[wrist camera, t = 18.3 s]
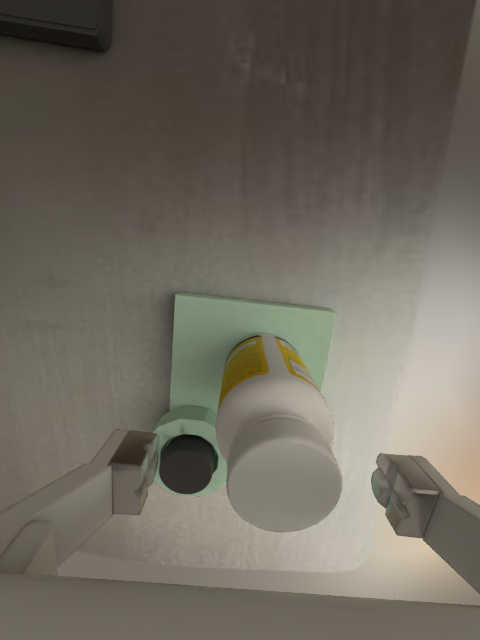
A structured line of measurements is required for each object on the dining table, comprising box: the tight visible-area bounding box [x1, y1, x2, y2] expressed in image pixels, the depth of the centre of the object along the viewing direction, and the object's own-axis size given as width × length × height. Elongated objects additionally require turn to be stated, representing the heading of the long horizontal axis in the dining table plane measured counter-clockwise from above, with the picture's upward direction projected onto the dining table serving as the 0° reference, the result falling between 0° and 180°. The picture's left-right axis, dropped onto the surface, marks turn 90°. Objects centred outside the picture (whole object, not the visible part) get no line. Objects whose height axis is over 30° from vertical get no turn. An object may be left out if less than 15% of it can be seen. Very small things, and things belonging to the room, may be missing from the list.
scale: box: [151, 292, 336, 497], centre depth 19 cm, size 12×15×3 cm
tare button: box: [159, 435, 215, 494], centre depth 18 cm, size 4×4×2 cm
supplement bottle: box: [216, 333, 342, 532], centre depth 13 cm, size 5×5×10 cm
